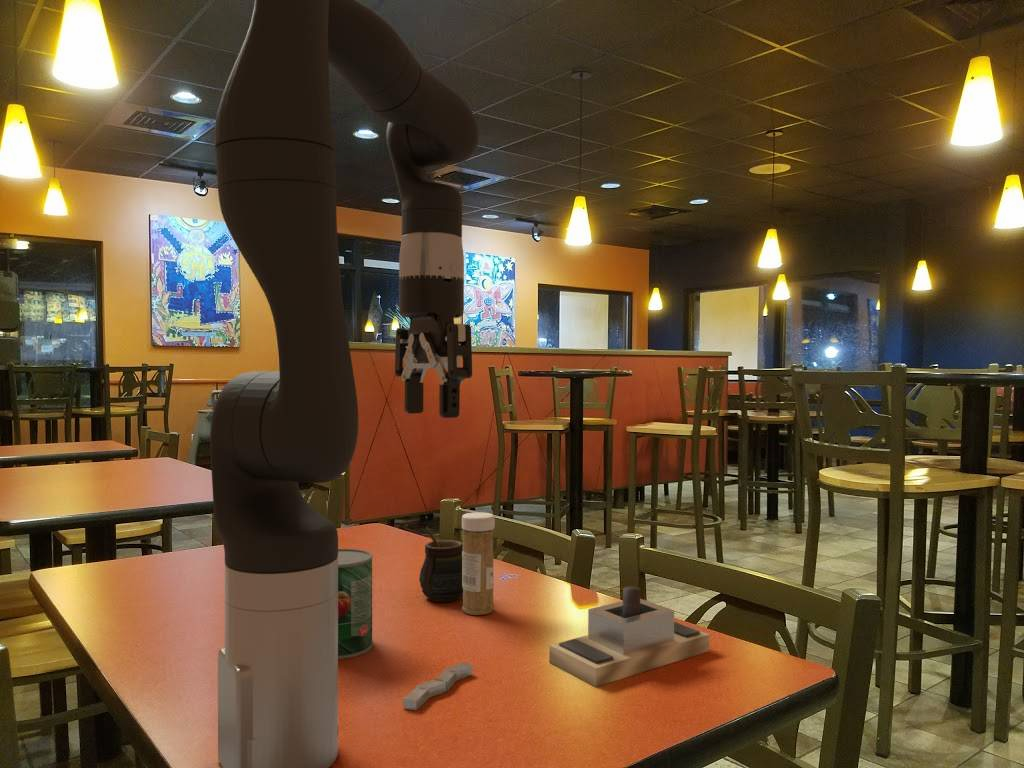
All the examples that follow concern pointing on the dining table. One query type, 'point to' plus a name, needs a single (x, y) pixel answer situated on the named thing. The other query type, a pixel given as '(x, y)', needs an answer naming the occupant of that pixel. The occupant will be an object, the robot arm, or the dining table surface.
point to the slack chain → (436, 685)
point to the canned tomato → (354, 602)
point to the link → (630, 627)
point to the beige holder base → (611, 666)
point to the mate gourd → (442, 570)
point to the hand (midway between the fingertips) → (431, 415)
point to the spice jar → (478, 563)
